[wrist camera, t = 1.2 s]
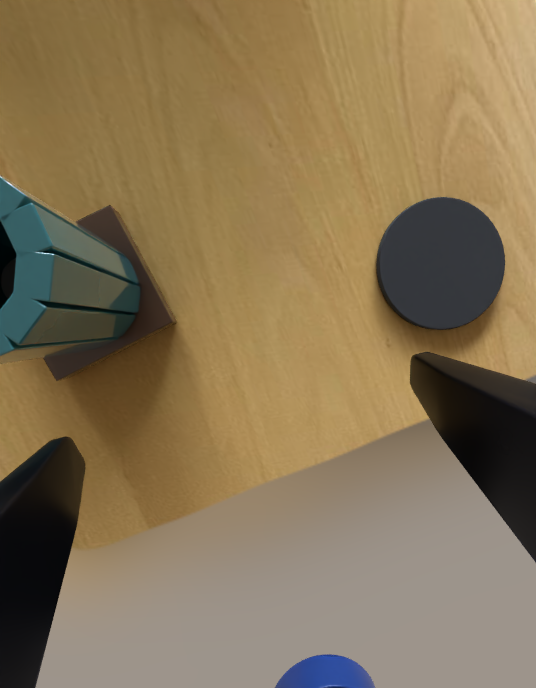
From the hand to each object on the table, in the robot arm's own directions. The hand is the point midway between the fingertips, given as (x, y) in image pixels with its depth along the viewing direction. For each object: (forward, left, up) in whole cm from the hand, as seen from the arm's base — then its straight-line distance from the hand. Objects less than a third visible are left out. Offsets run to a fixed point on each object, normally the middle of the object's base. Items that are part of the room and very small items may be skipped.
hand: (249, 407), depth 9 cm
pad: (+8, -13, -15) cm, 21 cm away
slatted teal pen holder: (+3, +10, -13) cm, 17 cm away
